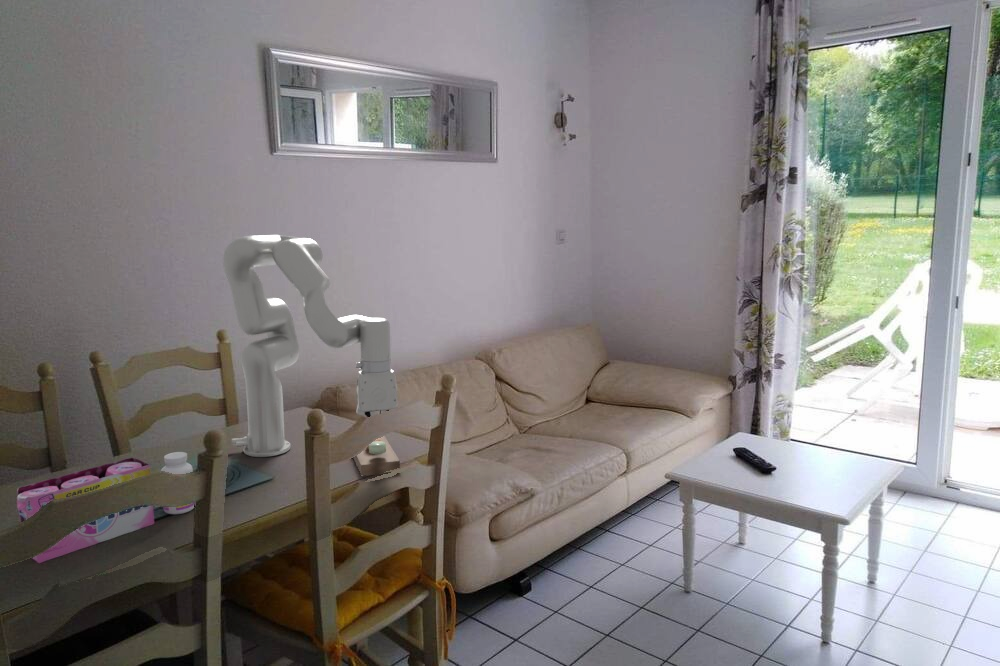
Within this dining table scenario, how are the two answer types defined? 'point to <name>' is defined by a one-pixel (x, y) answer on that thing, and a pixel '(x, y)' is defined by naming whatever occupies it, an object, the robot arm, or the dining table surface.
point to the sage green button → (377, 447)
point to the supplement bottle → (177, 466)
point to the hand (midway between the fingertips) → (377, 434)
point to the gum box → (82, 483)
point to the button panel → (377, 461)
